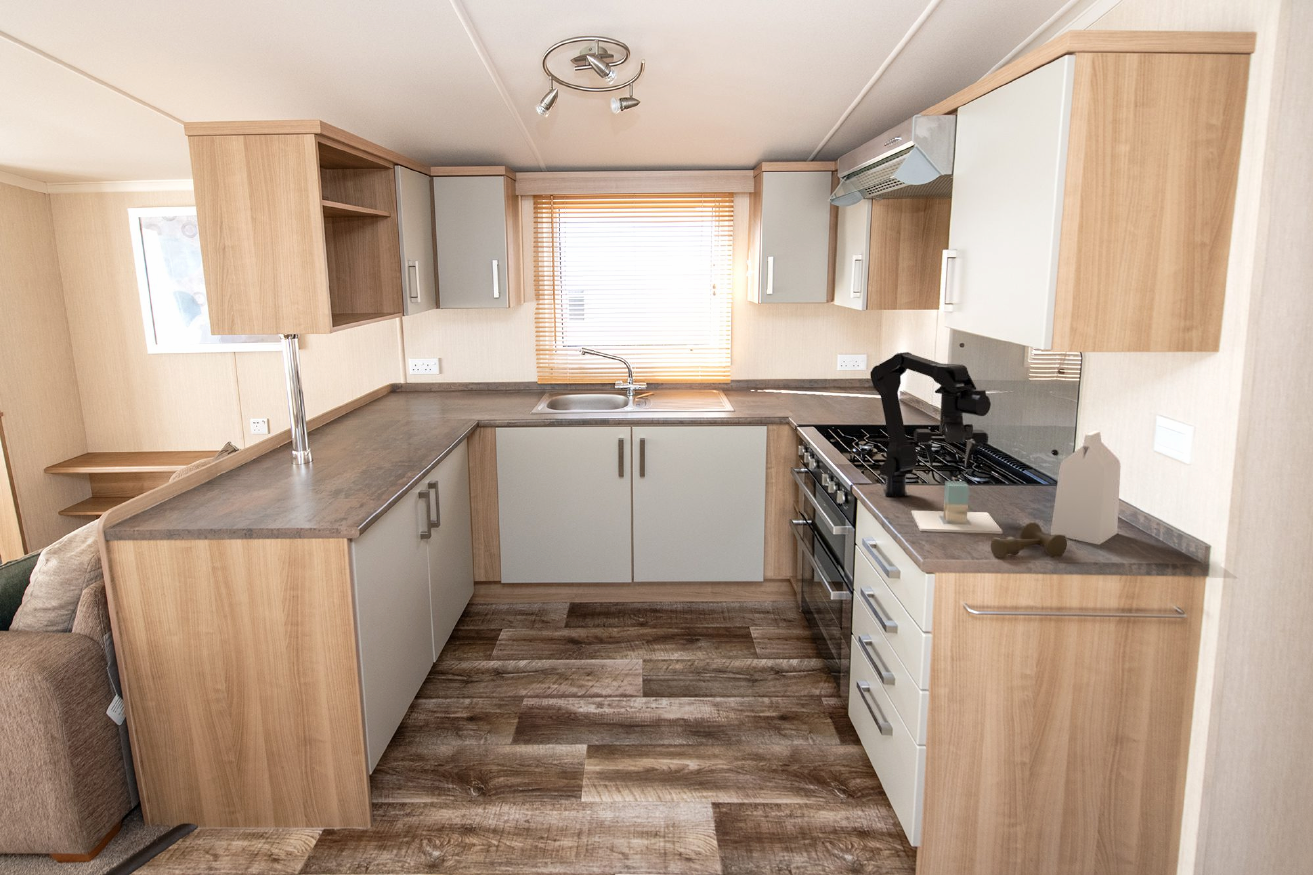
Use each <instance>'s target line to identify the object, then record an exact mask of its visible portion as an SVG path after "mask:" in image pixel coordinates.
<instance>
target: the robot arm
mask: <svg viewBox="0 0 1313 875" xmlns="http://www.w3.org/2000/svg"><path fill="white" fill-rule="evenodd" d="M907 370H908V371H912V372H915V373H918V374H921V375H924V376H927V377H930V378H932V379H933V381H934V382H935V383H937V384H938V385H940V386H939V387H938V388H936V390H934V393H936V394H939V395H941V398H940V400H941V401H940V413H939V414H940V415H939V416H940V417H939V418H940V419H939V432H934V431H933V432H932V431H931V430H930V429H929V428H928V429H927V428H916V429H915V430H913V440H914V441H915V442H916V443H919V444H920V446H923V448H924V451H925V452H926V455H927V458H928V463H929V465H930V467H931V468H932V467H933V465H934V464H933V463H934V458H933V457H934V456H933V443H932V442H931V441H932V440H945V442H946V443H949V444H952V443H959V444H964V443H965V440H967V441H966V448H965V457H964V468H968V466H969V465H970V462H971V459H972V457H973V455H974V453H975V451H976V450H977V449H978V448H979V447H983V445H984V444H988V443H989V434H988V433H987V432H986V431H985V430H983V429H974V426H973V423H972V424H969V423H965V424H964V418H963V416H964V415H963V414H967V415H972V416H978V417H984V416H986V415H987V414H988V413H989V412H990V410H991V407H992V406H991V404H992V402H991V400H990V398H989V396H988V395H987V392H986V389H977V387H976V385H975V383H974V381H973V378H972V377H971V376H970V373H969V371H968V368H967V366H966V365H964V364H959V363H941V362H937V361H934V360H932V359H928V358H926V357H921V356H918V355H915V354H913V353H912V352H909V351H906V352H897V353H895V354H894V355H892V356H891V357H890V358H888V359H887V360H884V361H882V362H881V363H879V364H878V365H877V364H876V365H875V366H873V368H872V369H871V371H870V374H869V376H870V380H871V382H872V386H873V388H874V389H875V391H876V392H877V394H879V396H880V399H881V404H882V410H883V415H884V420H885V421H884V422H885V426H886V432H887V436H888V446H887V449H886V452H885V454H886V456H885V457H886V460H885V461H884V462H883V463H882V464H881V465H880V467H879V468H878V470H879V474H880V475H881V476H883V477H884V476H885V489H883V491H882V492H883V494H884V495H885V497H895V498H896V497H897V498H898V497H899V498H901V497H902V498H908V497H909V494H908V491H907V489H906V487H907V482H906V481H907V475H912V474H913V472H914V470H915V467H916V466H917V464H918V459H919V456H918V454H917V447H916V445H915V444H911V443H910V442H909V440H907V435H906V434H907V433H906V429H905V425H904V420H903V414H902V409H901V404H900V398H899V389H900V387H901V383H902V379H901V376H903V374H905V373H906V372H907Z"/></svg>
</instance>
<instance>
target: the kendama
mask: <svg viewBox="0 0 1313 875" xmlns="http://www.w3.org/2000/svg"><path fill="white" fill-rule="evenodd" d="M989 546H990V550H991V551H990V552H991V554H992V555H993V556H994V557H995V558H997V559H999V560H1004V559H1005V558H1007V556H1008V555H1012V556H1017V555H1018V554H1020V552H1021V551H1023V550H1024V549H1027V548H1030V547H1033V546H1039V547H1041V548H1043V549H1044V550H1045V552H1046V553H1047V555H1048V556H1049V557H1051V558H1058V557H1061V556H1063V554H1065V552H1066V550H1067V546H1068V540H1067V538H1066V537H1065V535H1052V534H1048V533H1045V532H1043V530H1042V528H1041V525H1040V524H1039V523H1037V522H1029V523H1026V524H1025V525H1024V526H1023V527H1022V528H1021V531H1020V534H1019V538H1015V537H1013V536H1007V537H1006V538H1004V539H1002V538H1000V537H993V538H992V539H991V542H990V545H989Z"/></svg>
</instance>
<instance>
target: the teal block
mask: <svg viewBox="0 0 1313 875" xmlns="http://www.w3.org/2000/svg"><path fill="white" fill-rule="evenodd" d="M969 490H970V485H969V484H968V483H967V482H966V481H965V480H964V481H963V480H959V481H958V480H945V481H944V498H943V500H944V499H945V501H946V502H947V504H956V505H968V506H969V493H970V491H969Z"/></svg>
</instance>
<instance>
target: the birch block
mask: <svg viewBox="0 0 1313 875" xmlns="http://www.w3.org/2000/svg"><path fill="white" fill-rule="evenodd" d="M943 500H944V501H943V511H944V513H943V517H944V519H945V520H946V522H947V523H967V512H968V511H969V510H968V509H969V508H968V506H969V504H968V505H956V504H947V502H946V501H945V499H944V498H943Z"/></svg>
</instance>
